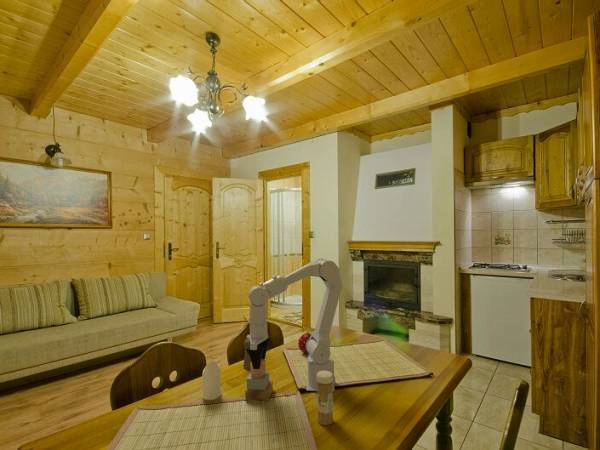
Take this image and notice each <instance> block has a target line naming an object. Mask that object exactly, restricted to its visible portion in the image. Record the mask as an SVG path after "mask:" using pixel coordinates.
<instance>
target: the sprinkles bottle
mask: <svg viewBox="0 0 600 450" xmlns="http://www.w3.org/2000/svg"><path fill="white" fill-rule="evenodd" d="M332 381H333V376H332V373H331V372H329V371H319V372H318V373H317V390H318V391H317V395H316V396H317V400H316V403H317V406H316V407H317V422H318V423H319V424H320V425H321V426H329V425H331V424H332V423H334V417H333V416H334V415H333V412H334V411H333V409H334V398H333V397H334V396H333V395H334V394H333V393H334V392H332Z"/></svg>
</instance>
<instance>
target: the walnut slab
mask: <svg viewBox="0 0 600 450" xmlns="http://www.w3.org/2000/svg"><path fill="white" fill-rule="evenodd" d="M273 382H274V381H273V380H270V379H269V383H268V385H267V387H266V389H265V390H247V388H246V389H245V392H244V393H245V397H244V398H245V402H264V403H265V402H268V403H269V401H270V398H271V396H272V393H273V391H274V388H273V387H274V383H273Z"/></svg>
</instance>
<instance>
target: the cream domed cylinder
mask: <svg viewBox="0 0 600 450" xmlns="http://www.w3.org/2000/svg"><path fill="white" fill-rule="evenodd" d="M201 379H202V383H201V384H202V385H201V386H202V399H203V400H205V401H214V400H216V399H218V398H219V397H221V395H222V388H221V387H222V385H221V384H222V383H221V381H222V370H221V366H220V365H219V364H218V362H216V361H215V360H213V361H212V360H209V361H207V362H206V365H205V367H204V368H203V370H202V378H201Z"/></svg>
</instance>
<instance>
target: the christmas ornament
mask: <svg viewBox="0 0 600 450" xmlns="http://www.w3.org/2000/svg"><path fill="white" fill-rule="evenodd" d="M311 334H312V333H310V331H308V330H306V333H304V334H302V335H301V336H300V337H299V339H298V343H297V344H298V348H299V350H300V351H301V352H302V353H304V354H306V355H309V353H308V352H307V350H306V343H307V341H308V340H309V338H310V337H311Z"/></svg>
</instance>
